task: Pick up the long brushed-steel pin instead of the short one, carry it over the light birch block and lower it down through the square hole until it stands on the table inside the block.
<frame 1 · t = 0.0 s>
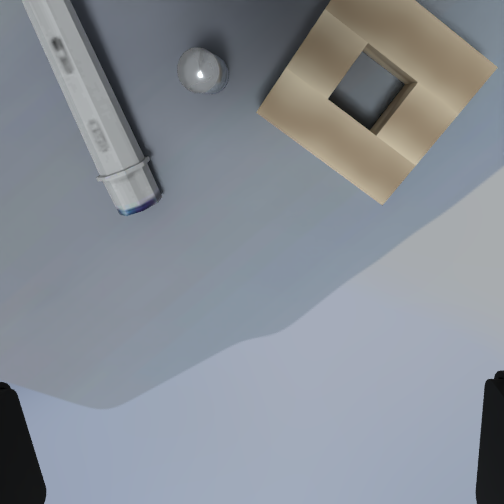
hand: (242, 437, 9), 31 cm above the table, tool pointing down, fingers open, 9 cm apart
short pin: (210, 74, 36), on the table
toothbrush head: (92, 62, 37), on the table
bored block: (364, 92, 35), on the table
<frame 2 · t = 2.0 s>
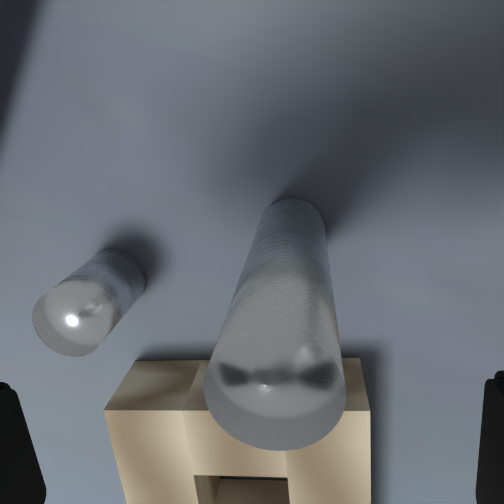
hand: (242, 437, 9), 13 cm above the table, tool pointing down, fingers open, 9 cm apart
short pin: (117, 276, 22), on the table
long pin: (291, 229, 20), on the table
bored block: (253, 449, 25), on the table
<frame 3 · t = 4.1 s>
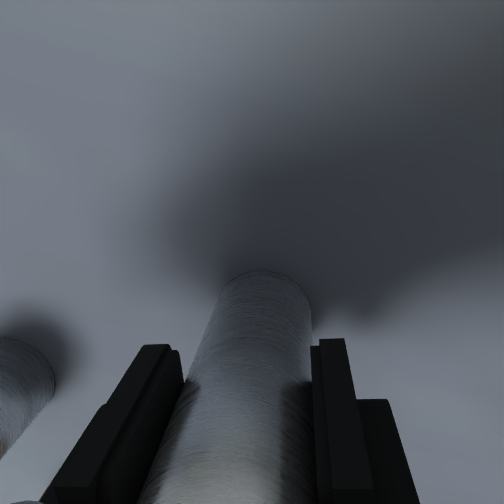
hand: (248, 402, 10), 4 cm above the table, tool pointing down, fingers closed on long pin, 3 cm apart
short pin: (14, 376, 16), on the table
long pin: (262, 315, 14), on the table, touching gripper
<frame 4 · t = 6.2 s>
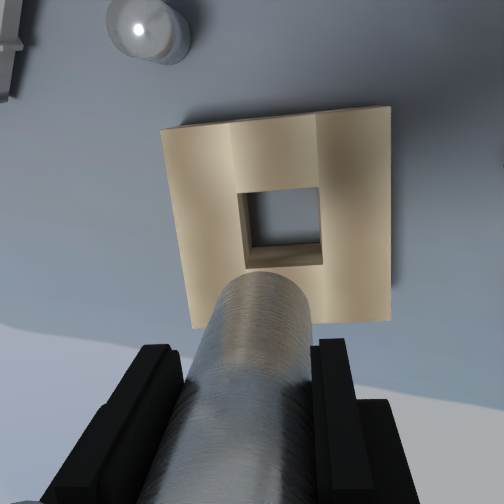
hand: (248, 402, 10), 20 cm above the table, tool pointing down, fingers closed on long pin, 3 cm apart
short pin: (166, 37, 26), on the table
long pin: (262, 315, 14), point 15 cm above the table, touching gripper
bored block: (283, 212, 28), on the table
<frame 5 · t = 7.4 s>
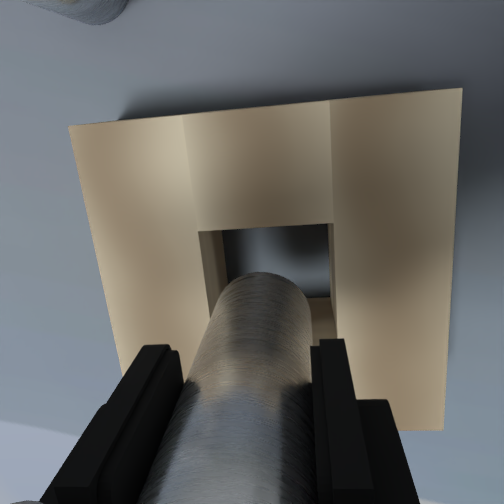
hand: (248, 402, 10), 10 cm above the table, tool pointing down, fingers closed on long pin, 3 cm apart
long pin: (262, 316, 14), point 6 cm above the table, touching gripper
bored block: (275, 251, 19), on the table
when the fingers open (6 cm above the table, at t = 8.5 s): long pin drops 1 cm, resting in bored block.
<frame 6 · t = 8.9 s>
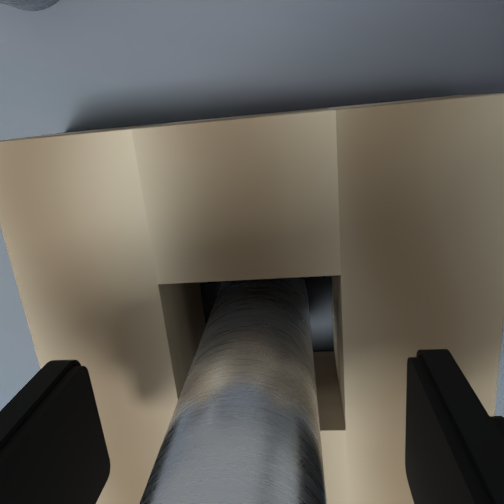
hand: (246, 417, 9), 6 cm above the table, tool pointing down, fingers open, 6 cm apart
long pin: (263, 295, 15), resting in bored block
bored block: (265, 296, 15), on the table
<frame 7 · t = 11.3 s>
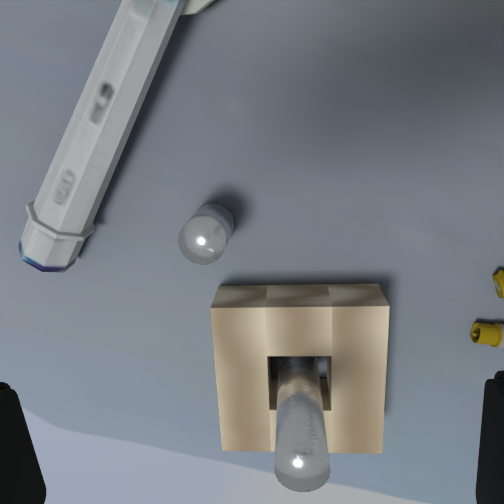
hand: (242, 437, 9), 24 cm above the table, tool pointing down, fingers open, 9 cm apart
short pin: (214, 222, 32), on the table
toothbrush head: (129, 104, 31), on the table
long pin: (297, 353, 35), resting in bored block
bored block: (298, 354, 35), on the table
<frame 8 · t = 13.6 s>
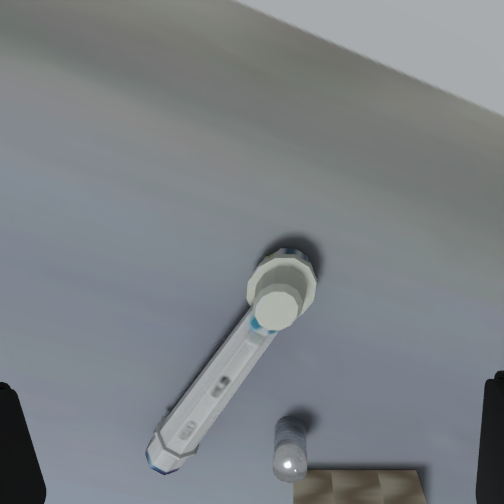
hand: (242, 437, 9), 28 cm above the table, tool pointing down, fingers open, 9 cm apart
short pin: (290, 429, 43), on the table
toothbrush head: (228, 354, 42), on the table
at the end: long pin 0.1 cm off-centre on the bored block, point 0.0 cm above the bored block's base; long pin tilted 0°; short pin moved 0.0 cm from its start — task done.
